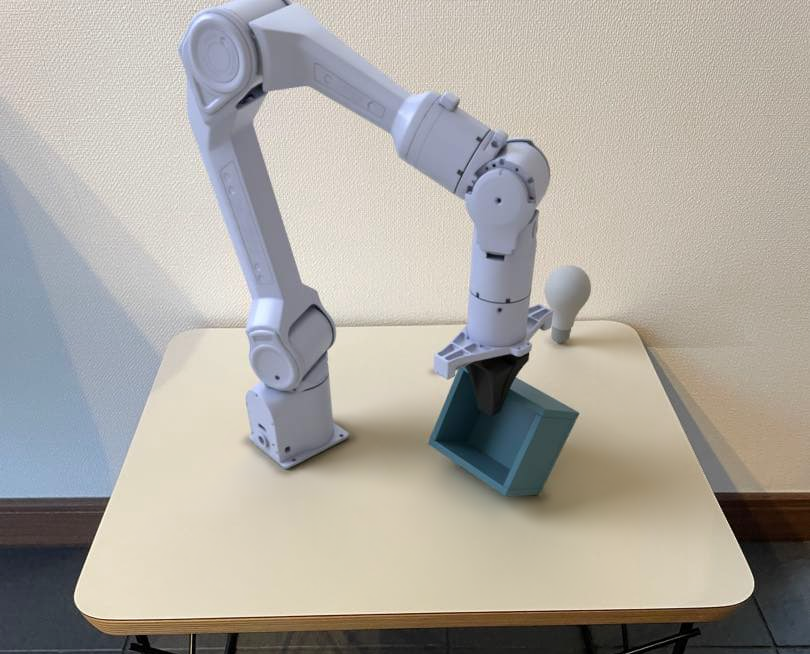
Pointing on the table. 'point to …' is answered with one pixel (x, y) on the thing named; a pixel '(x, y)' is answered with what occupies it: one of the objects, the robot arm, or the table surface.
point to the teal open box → (504, 435)
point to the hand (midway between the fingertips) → (489, 410)
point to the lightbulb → (566, 298)
